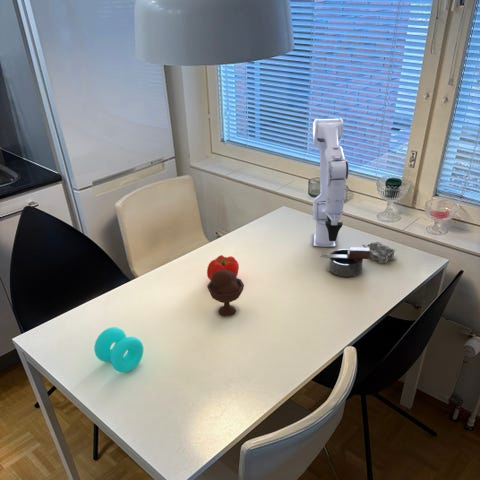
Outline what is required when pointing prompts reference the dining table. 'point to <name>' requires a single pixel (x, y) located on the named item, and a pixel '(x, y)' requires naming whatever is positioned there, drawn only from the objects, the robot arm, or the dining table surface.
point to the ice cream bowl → (225, 290)
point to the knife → (351, 254)
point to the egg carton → (380, 252)
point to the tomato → (222, 265)
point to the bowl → (344, 264)
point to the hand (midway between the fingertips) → (332, 235)
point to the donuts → (118, 349)
